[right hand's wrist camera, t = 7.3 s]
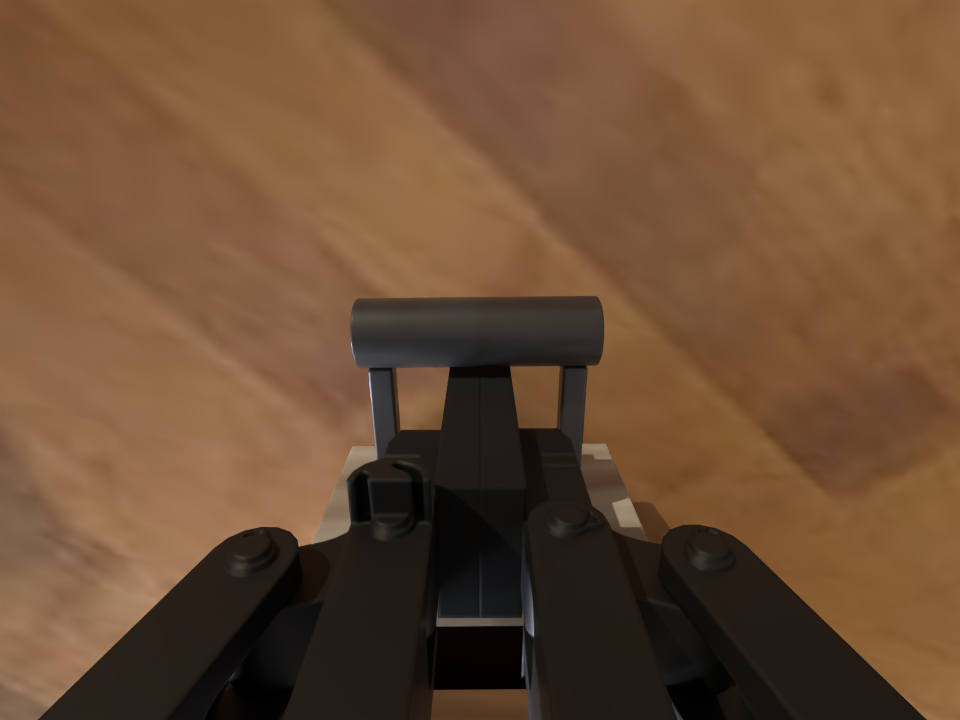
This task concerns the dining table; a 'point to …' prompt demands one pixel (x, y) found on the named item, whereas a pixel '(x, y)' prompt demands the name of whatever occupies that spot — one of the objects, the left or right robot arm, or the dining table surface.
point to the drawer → (482, 343)
